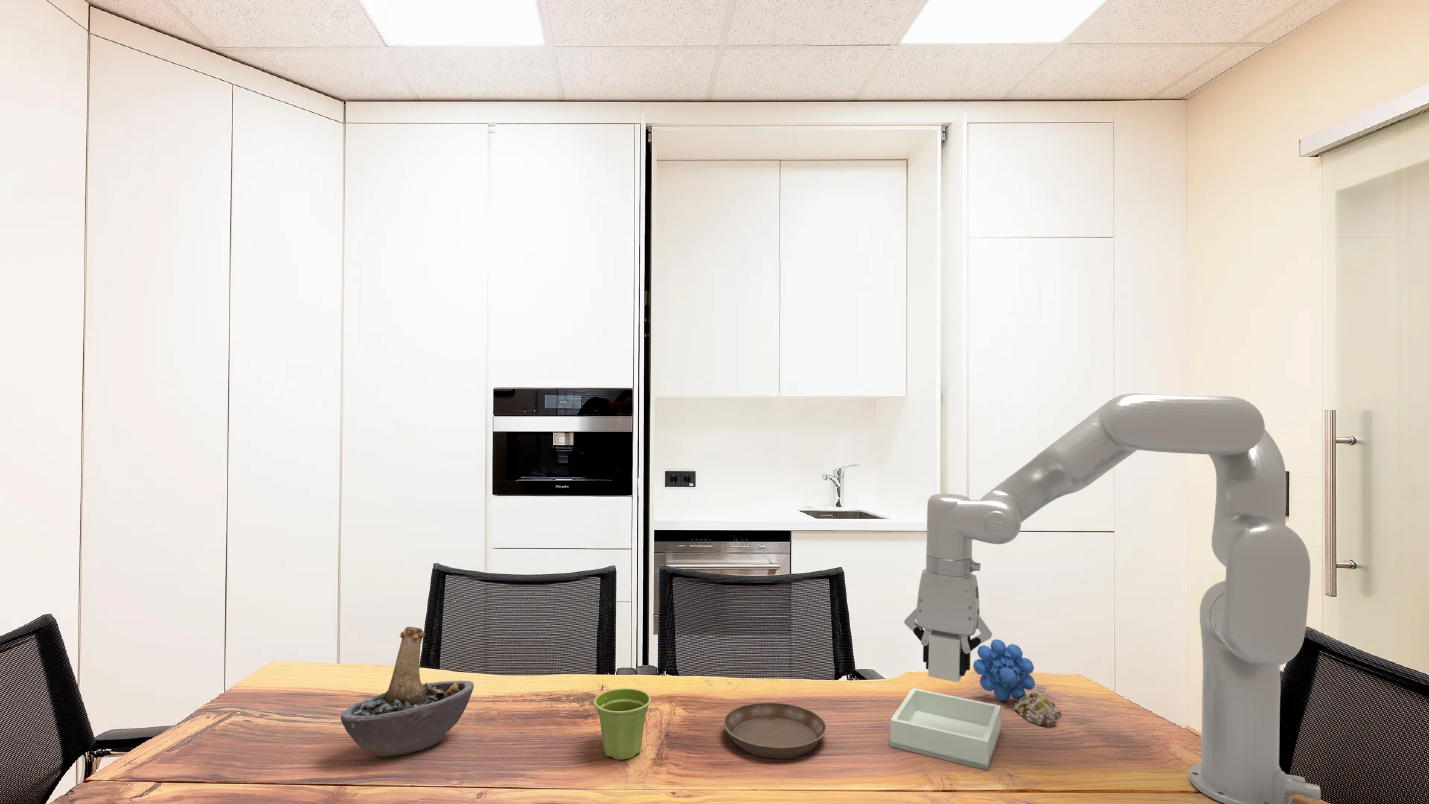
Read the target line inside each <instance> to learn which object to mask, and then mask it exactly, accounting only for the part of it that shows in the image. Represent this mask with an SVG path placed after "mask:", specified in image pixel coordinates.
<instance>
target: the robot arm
mask: <svg viewBox="0 0 1429 804" xmlns="http://www.w3.org/2000/svg"><path fill="white" fill-rule="evenodd" d="M1265 426H1266V424H1265V419H1264V416H1263V414H1262V413H1261V411H1260V410H1259V409H1258V408H1257V407H1256V406H1255V405H1254V404H1252V403H1251V402H1250V401H1247V400H1245V399H1244V398H1239V397H1235V396H1222V395H1221V396H1220V395H1219V396H1211V395H1202V396H1200V395H1167V394H1166V395H1165V394H1152V393H1151V394H1150V393H1149V394H1148V393H1125V394H1120V395H1118V396H1115V397H1113V398H1111V399H1110V400H1108V401H1107V402H1106V403H1104V404H1103V405H1101V407H1099V408H1098V409H1095V411H1094V412H1092V413H1091V414H1089V415H1088V416H1086V417H1085V419H1082V421H1080V422H1079V423H1078V424H1077V425H1075V426H1073V428H1071V429H1070V430H1069V431H1067V432H1066V433H1064V434H1063V435H1062V436H1060V437H1059V438H1058V439H1057V440H1055V441H1053V443H1051V444H1050V445H1048V446H1047V447H1046V448H1045V449H1043V450H1042V451H1041V452H1039V453H1038V454H1037V455H1036V456H1035V457H1034V458H1032V460H1030V461H1029V462H1027V463H1026V464H1025V465H1023V466H1022V467H1020V468H1019V469H1018V470H1017V471H1015V472H1013V473H1012V474H1011V475H1009V476H1008V477H1007V478H1006V479H1003V481H1002V482H1000V483H999V484H998V485H996V486H995V487H993V488H992V489H991V490H990V491H988V492H987V493H986V494H985V495H984V496H983V495H982V497H981V498H980V499H970V498H969V497H968V496H966V495H963V494H962V495H961V494H954V493H937V494H933V495H931V496H930V497H929V498H928V500H927V505H926V506H927V508H926V509H927V511H926V512H927V513H926V515H927V517H926V548H925V549H926V551H925V552H926V553H925V555H926V556H925V557H926V559H925V560H926V561H925V568H924V569H923V570H922V572H921V575H920V579H919V580H920V581H919V586H918V593H917V601H916V608H915V609H914V610H913V611H912V612H911V613H910V614H909V615H907V617H906V618H905V619H904V620H903V622H904V624H905V626H906V627H908V629H910V630H911V631H912V632H913V634H914V635H915V636H916V637H917V639H918V640H919V641H920V644H921V646H922V648H923V650H922V662H923V663H925V670H928V666H929V636H930V634H932V632H933V631H938V632H944V633H949V634H955V635H959V637H960V639H961V645H962V651H961V653H960V676H962V677H964V676H965V675H966V673H967V671H969V672H970V669H971V652H972V651H973V650H974V649H976V648H977V647H979V646H981V644H983V643H985V642H987V641H988V640H990V639H991V638H993V637H992V636H993V633H992V631H991V630H990V628H989V627H988V625H987V624H986V622H984V620H983V618H981V616H980V615H981V614H980V594H979V585H978V577H977V575H976V574H973V572H980V571H981V565H982V564H981V563H980V562H977V561H975V560H973V540H974V541H979V542H982V543H986V544H992V545H1006V544H1008V543H1010V542H1012V541H1014V539H1016V537H1017V536H1019V533H1020V531H1021V528H1022V523H1023V522H1024V521H1025V520H1027V519H1029V518H1030V517H1031V516H1032V515H1034V514H1035V513H1036V512H1038V511H1039V510H1041V509H1042V508H1044V507H1045V506H1047V505H1049V504H1050V503H1052V502H1054V501H1055V500H1057V499H1059V498H1061V497H1063V496H1066V495H1070V494H1074V493H1078V492H1079V491H1081V490H1083V489H1085V488H1087V487H1089V486H1090V485H1091V484H1093V483H1094V482H1095V481H1097V480H1098V479H1099V478H1101V477H1102V476H1103V475H1105V474H1106V473H1108V472H1109V471H1110V470H1111V469H1113V468H1114V467H1116V466H1117V465H1118V464H1120V463H1122V462H1123V461H1124V460H1125V459H1127V458H1128V457H1130V456H1131V455H1133V454H1134V453H1136V452H1137V451H1146V452H1156V453H1169V454H1170V453H1171V454H1190V455H1191V454H1192V455H1207V456H1209V457H1210V459H1211V461H1212V463H1213V466H1214V469H1215V476H1216V479H1215V480H1216V481H1215V482H1216V484H1215V485H1216V489H1215V490H1216V491H1215V492H1216V493H1215V494H1216V496H1215V509H1214V518H1213V526H1212V535H1211V548H1212V551H1213V554H1214V556H1215V558H1216V559H1217V561H1219V562H1220V563H1221V565H1223V566H1224V567H1225V580H1223V581H1219V582H1217V583H1215V584H1213V585H1212V586H1210V587H1209V588H1208V589H1207V590H1206V591H1205V593H1204V594H1203V596H1202V599H1201V601H1200V606H1199V625H1200V636H1201V648H1202V652H1201V653H1202V681H1201V684H1202V685H1201V686H1202V688H1201V691H1202V692H1201V695H1202V696H1201V703H1202V704H1201V753H1200V754H1201V760H1200V763H1196V764H1193V765H1192V766H1191V767H1189V770H1188V779H1189V781H1190V783H1191V785H1193V786H1194V787H1195V788H1196V789H1197V790H1199V792H1201V793H1203V795H1205V796H1207V797H1209V798H1211V799H1213V800H1215V801H1217V802H1219V803H1221V804H1222V803H1223V804H1292V803H1293V796H1294V795H1298V796H1303V797H1305V798H1309V799H1314V800H1318V801H1320V800H1321V797H1322V795H1321V787H1320V785H1318V784H1314V783H1309V782H1306V779H1305V776H1304V777H1303V776H1298V775H1294V774H1293V775H1292V774H1287V773H1286V772H1285V771H1283V770H1282V768H1281V766H1280V724H1281V723H1280V721H1281V720H1280V718H1281V715H1280V714H1281V711H1280V710H1281V709H1280V708H1281V669H1280V668H1281V667H1280V666H1282V665H1284V664H1287V663H1288V662H1290V661H1291V660H1293V658H1295V657H1297V654H1299V652H1300V650H1301V649H1302V646H1303V643H1304V639H1305V635H1306V629H1307V628H1306V627H1307V620H1308V619H1307V618H1308V606H1309V597H1310V583H1311V560H1310V555H1309V551H1308V549H1307V545H1306V544H1305V542H1304V541H1303V539H1302V538H1301V537H1300V536H1299V534H1297V532H1296V531H1294V530H1293V529H1292V528H1291V527H1289V526H1287V525H1286V514H1287V513H1286V511H1287V471H1286V465H1285V461H1284V458H1283V456H1282V455H1283V454H1282V453H1281V450H1280V448H1279V447H1278V445H1277V443H1276V442H1275V440H1274V438H1273V437H1272V436H1271V435H1270V433H1269V432H1268V431H1267V429H1265V428H1266V427H1265ZM977 629H978V631H979V632H980V634H977V635H976V636H974V635H975V634H976V631H977ZM971 636H974V637H973V638H971ZM1293 794H1294V795H1293Z"/></svg>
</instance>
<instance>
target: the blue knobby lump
mask: <svg viewBox="0 0 1429 804" xmlns="http://www.w3.org/2000/svg"><path fill="white" fill-rule="evenodd" d="M976 652H977V655H978V657H979V658H977V659H976V660H973V665H972V667H973V670H974V672H975V673H976V674H977V675H979V676H980V678H979V683H980V686H981V688H982V689H983V690H985V691H987V692H992V691H993V694H994V696H995V698H997V699H998V700H999V701H1002V702H1007V701H1009V699H1010V698H1011V697H1012V699H1014V700H1016V701H1018V700H1019V699H1021V698H1022V697H1023V696H1024V695H1027V694H1026V693H1027V692H1026V690H1027V691H1032V690H1033V689H1034V688H1035V686H1036V681H1035V679H1034V677H1033V676H1032V675H1031V674H1032V673H1034V669H1035V666H1034V663H1033V662H1032V661H1031V659H1030V658H1028V657H1027V658H1026V657H1023V655H1024V653H1023V651H1022V648H1021V647H1020V646H1019V645H1017V644H1014V643H1011V644H1010V643H1009V644H1008V645H1006V643H1005V642H1004V641H1003V640H1002V639H1001V640H1000V639H997V638H996V639H992V641H991V643H990V647H989V646H988V645H986V644H982V645H979V646H978V648H977V651H976Z"/></svg>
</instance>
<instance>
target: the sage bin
mask: <svg viewBox="0 0 1429 804" xmlns="http://www.w3.org/2000/svg"><path fill="white" fill-rule="evenodd" d="M1001 713H1002V705H999V704H994V703H989V702H984V701H979V700H974V699H969V698H964V697H961V696H954V695H950V694H945V693H940V692H935V691H931V690H930V691H929V690H925V689H919V688H915V687H912V688H911V689H910V691H909V692H908V694H907V695H906V697H905V698H904V700H903V701H902V703H900V705H899V706H898V708H897V710H896V711H895V713H894V714H893V715H892V717H891V719H889V720H890V721H889V722H890V723H889V729H890V730H889V747H892V748H896V749H899V750H902V751H903V750H904V751H909V752H911V753H916V754H920V755H922V756H923V755H925V756H927V757H928V756H929V757H932V758H936V759H940V760H944V761H947V762H952V763H957V764H960V765H965V766H969V767H972V768H977V769H981V770H985V771H988V770H989V766H990V763H991V760H992V758H993V754H994V751H995V748H996V746H997V743H998V740H999V737H1000V734H1001V730H1002V729H1001V727H1002V723H1001V720H1002V719H1001V717H1002V716H1001V715H1002V714H1001Z"/></svg>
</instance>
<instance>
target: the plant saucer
mask: <svg viewBox="0 0 1429 804" xmlns="http://www.w3.org/2000/svg"><path fill="white" fill-rule="evenodd" d="M825 722H826V721H824V719H823V718H822V717H821V716H819V714H817V713H816V712H814V711H811V710H809V709H808V708H804V707H802V706H798V705H794V704H790V703H782V702H781V703H780V702H758V703H757V702H756V703H748V704H745V705H741V706H738V707H736V708H735V709H731V711H729V712H728V713H727V714H726V715H725V717H724V718H723V726H724V728H725V729H724V730H725V732H726V733H727V734H728V735H729V737H730V739H731V740H732V742H733V743H735V745H737V746H738V747H739V748H741V749H742V750H744V751H745V752H747V753H750V754H752V755H755V756H757V757H758V756H759V757H765V758H769V759H770V758H771V759H786V758H794V757H795V758H796V757H799V756H802V755H804V754H807V753H808V752H810V751H811V750H813V749H814V748H815V747H816V746H817V745H818V744H819V743H820V742H821V740H822V738H824V736H825V734H826V732H827V724H826V723H825Z"/></svg>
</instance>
